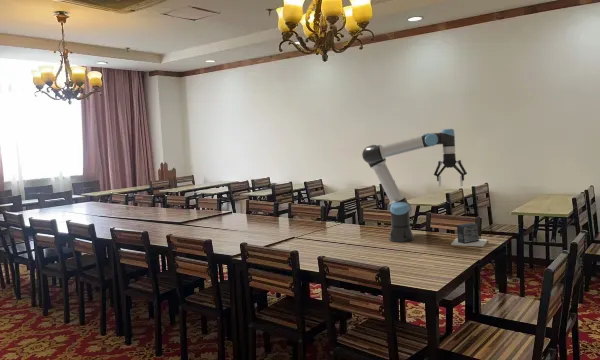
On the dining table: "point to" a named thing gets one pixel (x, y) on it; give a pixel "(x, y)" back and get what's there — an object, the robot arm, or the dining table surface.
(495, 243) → the dining table surface
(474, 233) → the small box
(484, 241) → the mat
